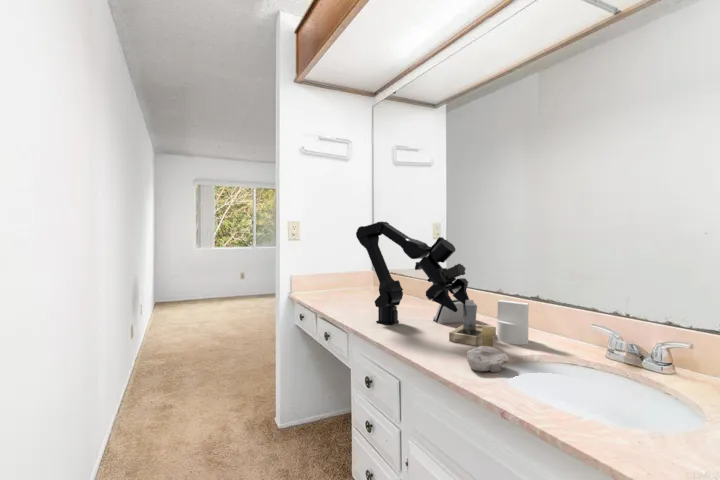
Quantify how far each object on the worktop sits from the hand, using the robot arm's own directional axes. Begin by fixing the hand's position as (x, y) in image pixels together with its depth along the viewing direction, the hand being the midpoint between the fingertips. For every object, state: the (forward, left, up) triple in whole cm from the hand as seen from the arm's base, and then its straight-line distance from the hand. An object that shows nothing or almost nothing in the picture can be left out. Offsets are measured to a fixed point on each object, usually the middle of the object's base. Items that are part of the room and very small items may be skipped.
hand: (463, 309), depth 116 cm
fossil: (+13, -21, -10) cm, 27 cm away
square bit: (+10, -9, -9) cm, 17 cm away
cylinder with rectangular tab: (+13, +8, -10) cm, 18 cm away
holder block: (+2, +3, -9) cm, 10 cm away
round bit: (+2, 0, -9) cm, 10 cm away
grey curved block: (-10, +22, -10) cm, 26 cm away
